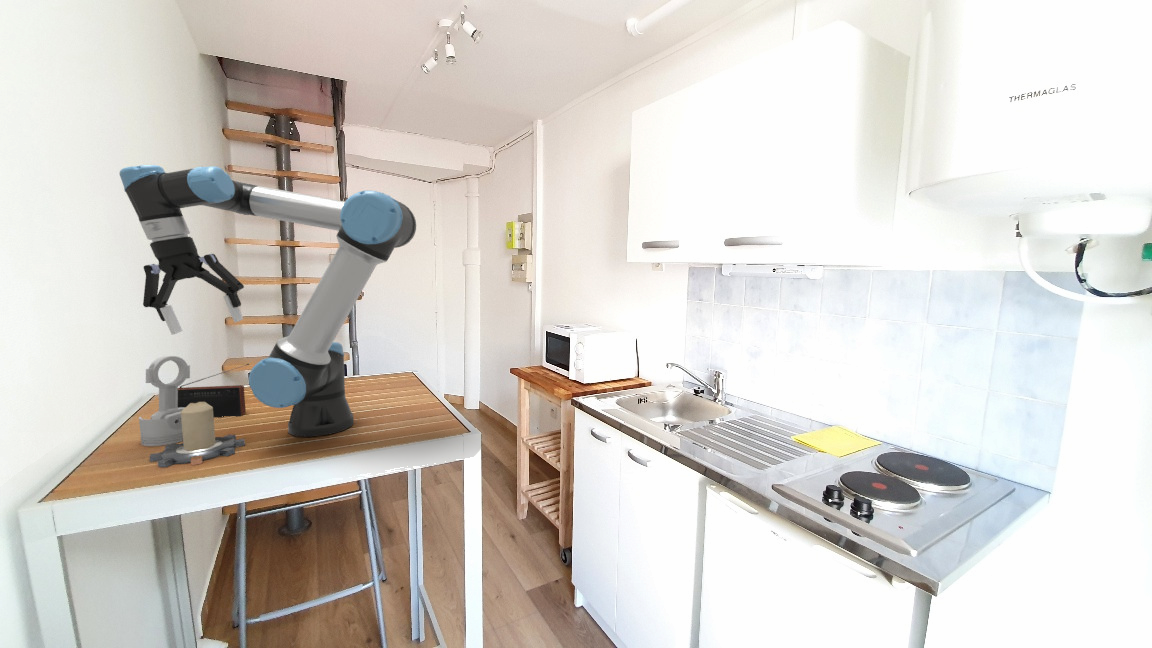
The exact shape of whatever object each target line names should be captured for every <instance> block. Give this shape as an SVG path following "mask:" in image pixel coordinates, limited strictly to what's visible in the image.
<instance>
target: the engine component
mask: <svg viewBox="0 0 1152 648" xmlns="http://www.w3.org/2000/svg"><path fill="white" fill-rule="evenodd" d="M169 361H171V362H174V363H175V364H176V366H177V367H178V373H177V376H176V377H175V378H174V380H173V381H171V382H169V383H164V382H163V381H161V379H160V376H159V371H160V369H161V367H162V366H163V365H164V364H165V363H166V362H169ZM148 366H149V367H148V368H146V369H145V384H151V385H152V386H153V387H155V388H157V389H158V411H156V412H155V413H153V414H151V416H150V419H147V418H146V419H145V418H143V417H142V416H139V417H138V421H139V422H138V424H139V431H140V432H139V433H140V435H139V436H140V444H141V445H142V446H143V447H144V446H145V447H160V446H167V445H170V444H173V443H174V444H179V443H181V442H182V443H183V432H182V421H181V411H182V410H183V409H184V408H186V407H183V408H178V388H179V387H180V386H182V384H183V383H185V381H186V380H187V379H190V378H191V365H189V364H188V363H187V362H186V360H185V359H183V358H182V357H180V356H176V355H163V356H160V357H158V358H156V359H154V360H153V361H152V362H151V363H150V365H148Z"/></svg>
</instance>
